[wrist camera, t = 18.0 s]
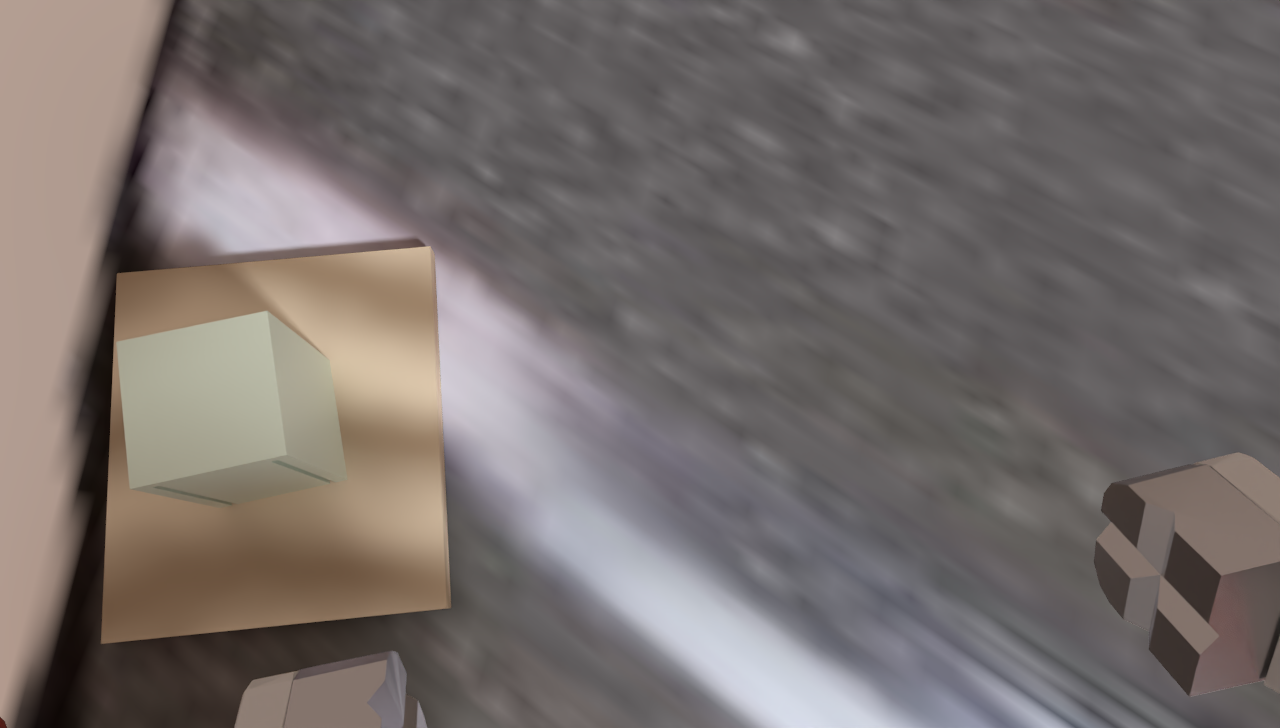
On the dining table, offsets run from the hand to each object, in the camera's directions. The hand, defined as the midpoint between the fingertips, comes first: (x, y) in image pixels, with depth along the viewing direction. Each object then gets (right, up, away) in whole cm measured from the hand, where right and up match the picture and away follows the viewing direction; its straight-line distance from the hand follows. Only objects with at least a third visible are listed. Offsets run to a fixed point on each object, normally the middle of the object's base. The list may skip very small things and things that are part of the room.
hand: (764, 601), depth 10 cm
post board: (-17, -1, +30) cm, 34 cm away
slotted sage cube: (-17, 0, +29) cm, 34 cm away
